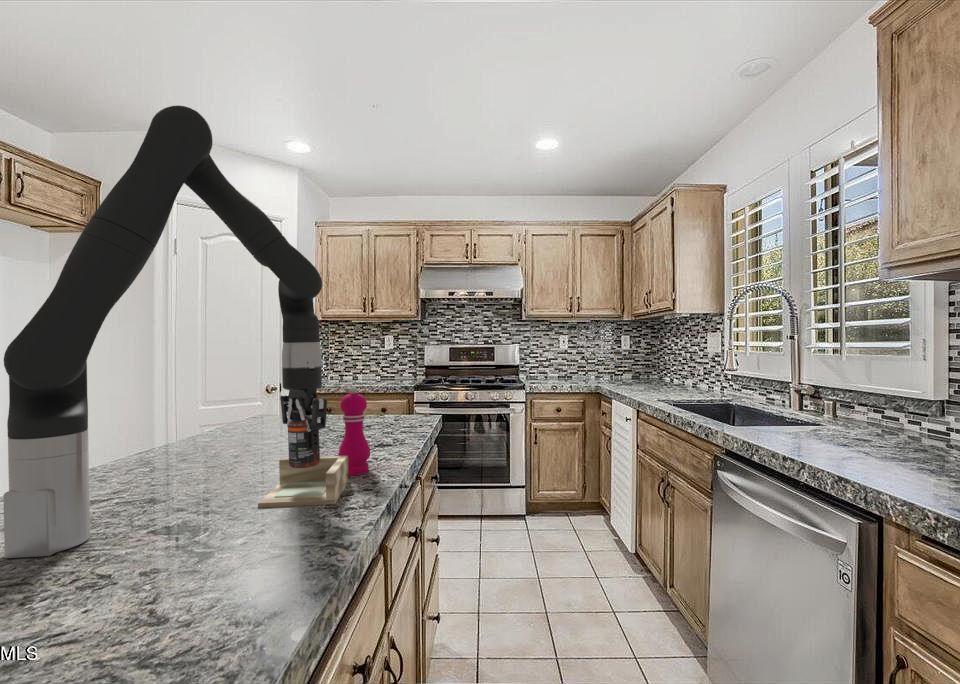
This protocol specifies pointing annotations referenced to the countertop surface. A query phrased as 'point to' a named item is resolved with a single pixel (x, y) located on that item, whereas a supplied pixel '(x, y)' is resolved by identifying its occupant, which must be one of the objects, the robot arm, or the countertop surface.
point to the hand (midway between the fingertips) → (304, 447)
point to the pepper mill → (354, 433)
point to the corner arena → (309, 483)
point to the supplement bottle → (300, 444)
